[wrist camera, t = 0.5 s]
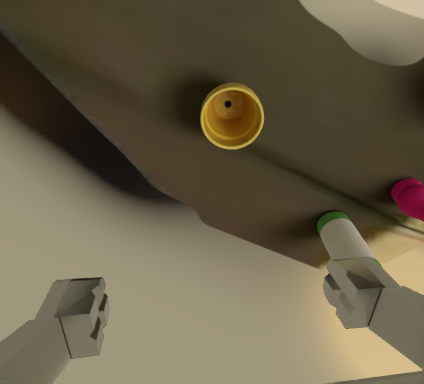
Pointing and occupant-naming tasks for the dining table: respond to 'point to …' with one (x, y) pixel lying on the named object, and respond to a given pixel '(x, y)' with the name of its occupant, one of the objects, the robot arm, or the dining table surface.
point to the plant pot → (231, 116)
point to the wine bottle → (342, 237)
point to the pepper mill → (409, 197)
